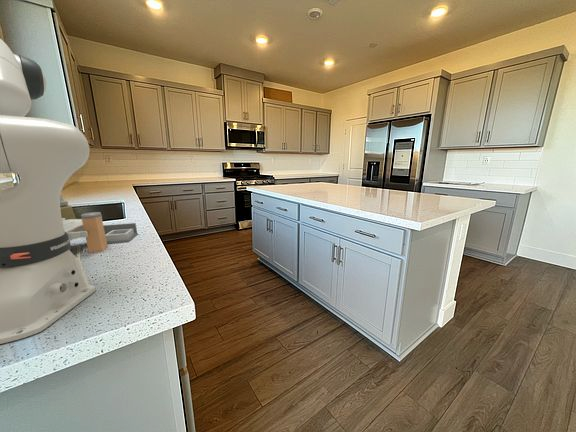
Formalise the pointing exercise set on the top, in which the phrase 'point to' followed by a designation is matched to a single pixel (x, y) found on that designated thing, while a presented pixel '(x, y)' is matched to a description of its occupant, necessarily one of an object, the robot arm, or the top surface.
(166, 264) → the top surface
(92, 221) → the grey-capped orange post
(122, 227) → the housing
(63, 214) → the squeeze bottle
